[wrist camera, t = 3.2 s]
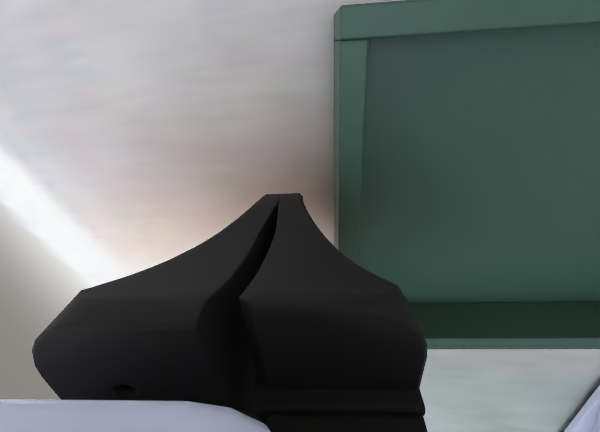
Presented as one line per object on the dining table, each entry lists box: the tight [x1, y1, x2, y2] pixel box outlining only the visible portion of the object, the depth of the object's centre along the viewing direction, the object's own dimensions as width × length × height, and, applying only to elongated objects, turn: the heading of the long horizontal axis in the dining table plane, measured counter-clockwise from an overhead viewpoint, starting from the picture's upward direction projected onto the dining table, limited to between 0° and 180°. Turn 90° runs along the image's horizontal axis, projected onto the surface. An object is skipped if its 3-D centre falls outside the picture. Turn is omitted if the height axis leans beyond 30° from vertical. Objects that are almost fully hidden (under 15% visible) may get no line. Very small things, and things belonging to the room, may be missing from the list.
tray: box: [334, 0, 600, 349], centre depth 11 cm, size 12×14×2 cm
